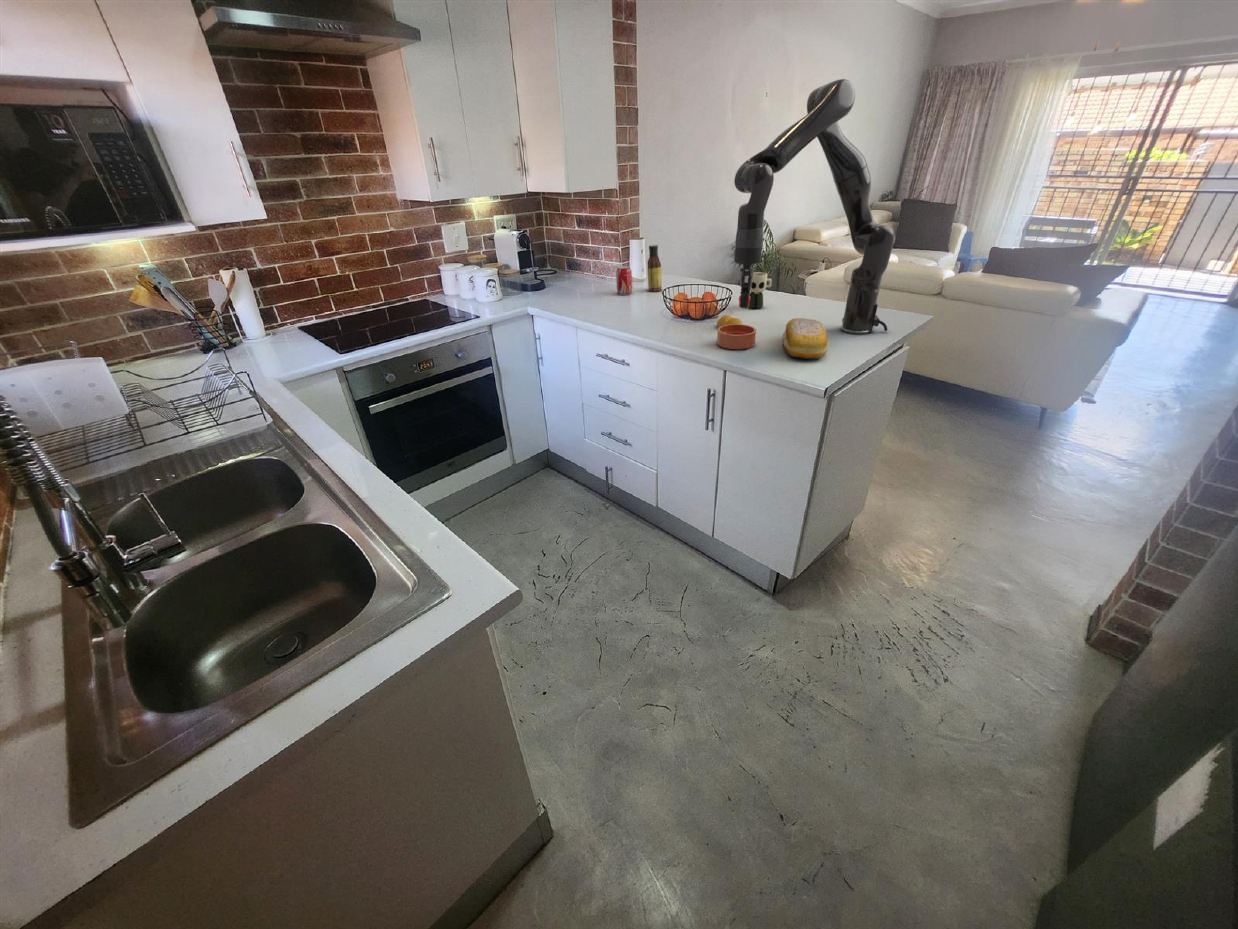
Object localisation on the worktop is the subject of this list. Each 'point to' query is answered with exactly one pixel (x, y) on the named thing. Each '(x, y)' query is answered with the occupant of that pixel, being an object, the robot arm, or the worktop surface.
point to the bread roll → (728, 321)
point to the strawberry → (740, 300)
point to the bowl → (736, 336)
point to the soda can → (624, 280)
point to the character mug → (758, 289)
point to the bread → (805, 338)
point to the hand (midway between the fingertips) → (744, 305)
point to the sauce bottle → (654, 270)
